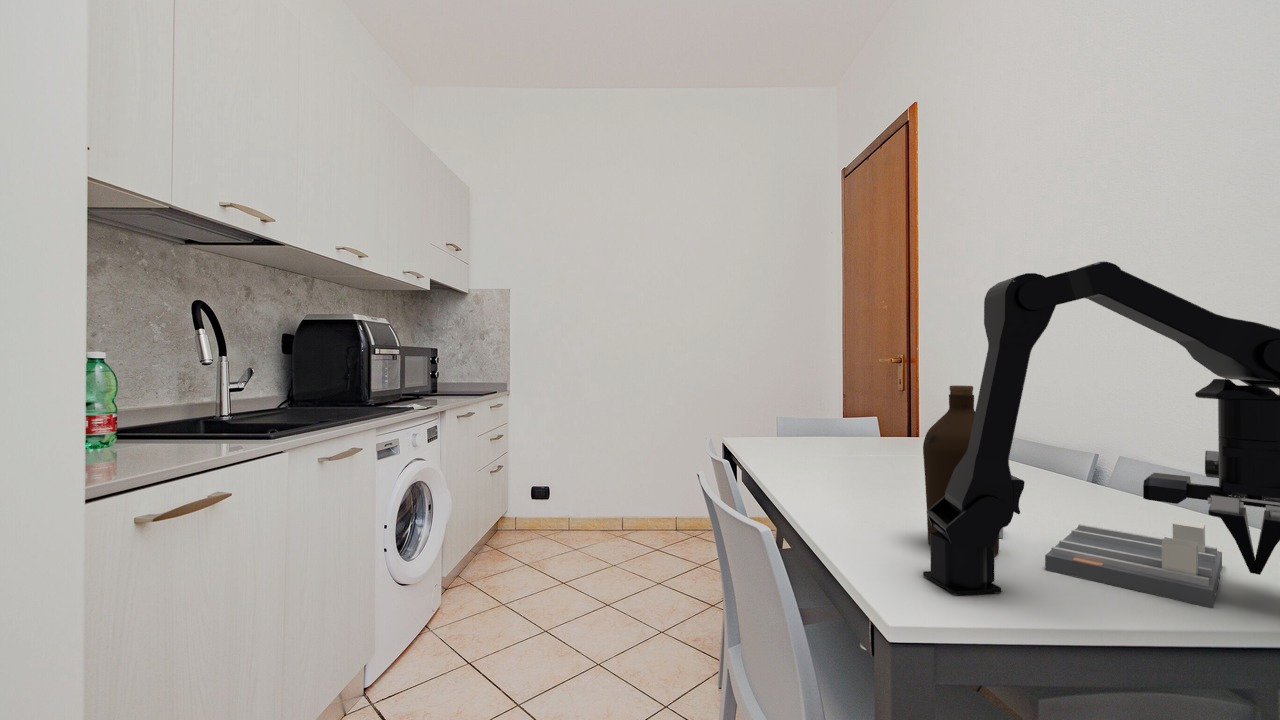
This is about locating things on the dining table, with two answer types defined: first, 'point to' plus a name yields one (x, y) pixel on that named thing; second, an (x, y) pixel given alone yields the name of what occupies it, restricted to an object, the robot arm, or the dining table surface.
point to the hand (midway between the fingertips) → (1255, 573)
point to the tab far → (1190, 533)
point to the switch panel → (1133, 564)
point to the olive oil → (948, 447)
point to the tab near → (1180, 556)
